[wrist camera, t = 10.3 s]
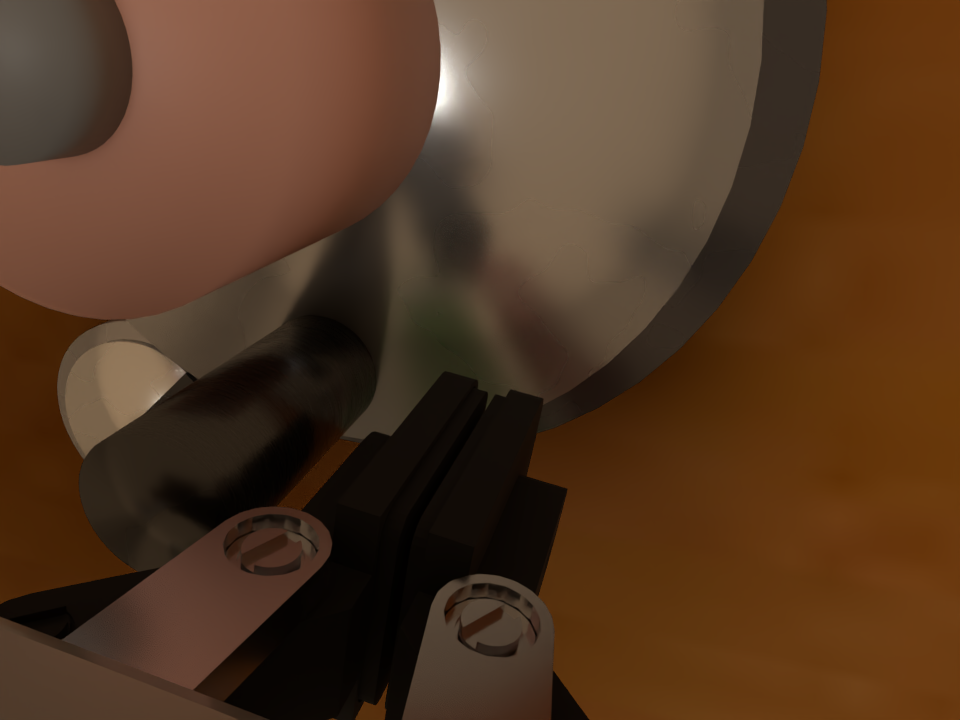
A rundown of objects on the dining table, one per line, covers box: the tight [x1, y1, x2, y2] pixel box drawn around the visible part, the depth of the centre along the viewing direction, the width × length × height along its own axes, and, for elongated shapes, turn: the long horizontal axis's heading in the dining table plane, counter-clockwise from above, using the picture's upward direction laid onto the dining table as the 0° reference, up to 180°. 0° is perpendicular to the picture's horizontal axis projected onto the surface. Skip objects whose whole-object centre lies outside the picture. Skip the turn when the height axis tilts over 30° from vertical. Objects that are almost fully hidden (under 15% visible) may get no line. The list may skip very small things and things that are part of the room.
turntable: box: [79, 0, 764, 572], centre depth 10 cm, size 13×13×6 cm
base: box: [340, 0, 827, 443], centre depth 13 cm, size 15×15×1 cm
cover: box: [0, 0, 441, 320], centre depth 9 cm, size 6×6×5 cm
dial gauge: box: [57, 319, 198, 459], centre depth 18 cm, size 5×5×1 cm
